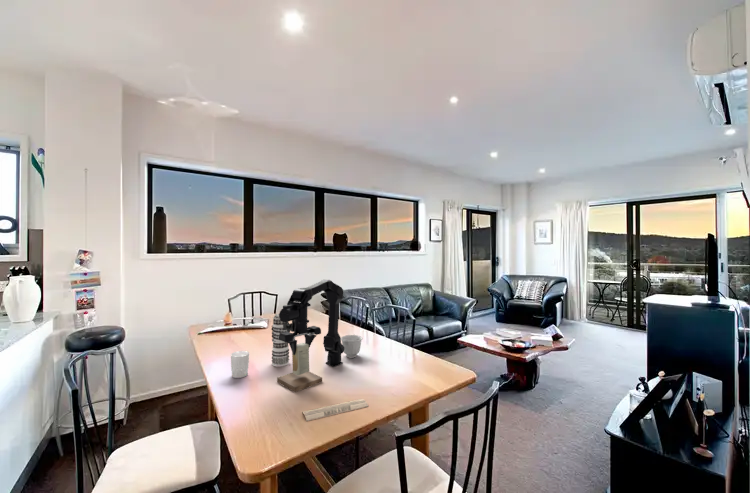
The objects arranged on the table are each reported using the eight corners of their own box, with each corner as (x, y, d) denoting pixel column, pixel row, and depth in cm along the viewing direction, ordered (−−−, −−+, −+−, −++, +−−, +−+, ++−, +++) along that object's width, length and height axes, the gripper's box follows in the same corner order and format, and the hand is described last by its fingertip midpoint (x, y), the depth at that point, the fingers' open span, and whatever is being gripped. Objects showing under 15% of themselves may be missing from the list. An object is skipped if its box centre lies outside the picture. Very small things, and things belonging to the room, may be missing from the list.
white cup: (229, 379, 144) (229, 357, 144) (231, 372, 152) (232, 351, 152) (247, 377, 146) (248, 355, 146) (249, 371, 154) (250, 350, 154)
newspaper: (361, 401, 127) (361, 397, 127) (369, 409, 120) (369, 405, 120) (302, 415, 116) (302, 410, 116) (307, 425, 110) (307, 419, 110)
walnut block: (304, 374, 152) (304, 369, 152) (322, 383, 143) (322, 377, 143) (277, 383, 142) (277, 377, 142) (294, 393, 133) (294, 387, 133)
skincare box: (303, 369, 146) (303, 342, 146) (309, 371, 143) (309, 344, 144) (291, 373, 141) (291, 345, 142) (297, 376, 138) (297, 347, 139)
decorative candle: (266, 364, 163) (267, 315, 163) (280, 359, 171) (280, 311, 171) (280, 368, 158) (281, 317, 158) (293, 362, 166) (294, 313, 166)
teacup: (364, 351, 185) (364, 334, 185) (360, 360, 170) (361, 341, 170) (343, 350, 186) (343, 333, 186) (338, 359, 171) (338, 340, 171)
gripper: (307, 311, 155) (307, 344, 155) (272, 318, 141) (271, 353, 141) (321, 315, 147) (321, 349, 147) (286, 322, 133) (285, 360, 134)
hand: (300, 352), depth 142 cm, fingers closed on skincare box, 6 cm apart
